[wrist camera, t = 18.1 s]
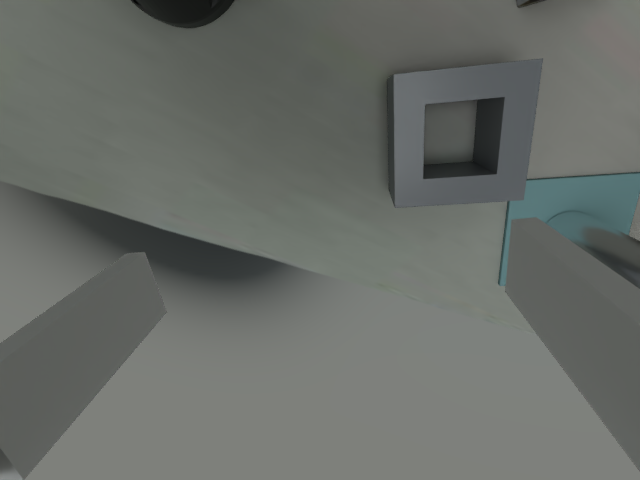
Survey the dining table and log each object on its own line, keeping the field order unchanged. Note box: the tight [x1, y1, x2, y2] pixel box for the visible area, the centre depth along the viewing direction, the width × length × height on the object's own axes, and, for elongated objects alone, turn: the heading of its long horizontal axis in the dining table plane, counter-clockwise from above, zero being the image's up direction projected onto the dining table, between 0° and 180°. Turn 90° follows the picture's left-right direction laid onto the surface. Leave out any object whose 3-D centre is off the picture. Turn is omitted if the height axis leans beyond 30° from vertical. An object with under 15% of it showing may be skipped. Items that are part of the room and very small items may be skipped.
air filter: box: [546, 211, 640, 289], centre depth 33 cm, size 6×6×25 cm
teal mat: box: [498, 172, 640, 286], centre depth 45 cm, size 15×15×1 cm
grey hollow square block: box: [387, 58, 543, 208], centre depth 38 cm, size 14×14×8 cm
